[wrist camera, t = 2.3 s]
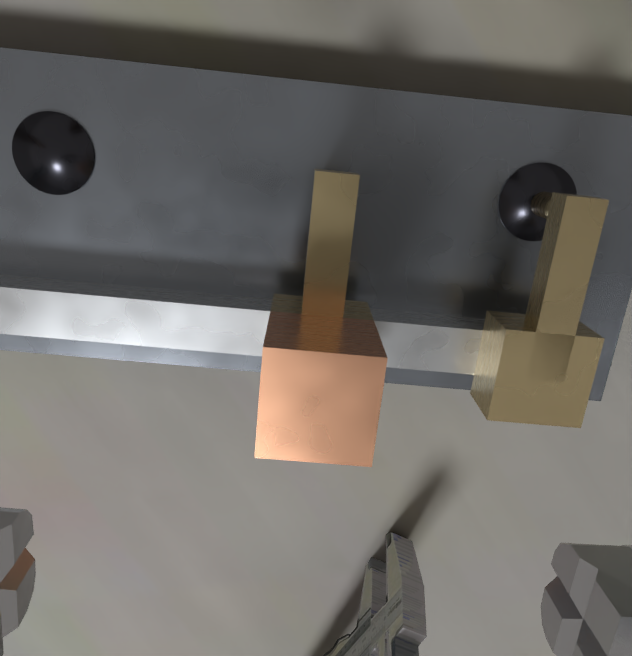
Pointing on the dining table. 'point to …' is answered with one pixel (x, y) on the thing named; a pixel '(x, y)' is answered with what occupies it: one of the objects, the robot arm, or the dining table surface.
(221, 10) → the dining table surface
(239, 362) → the bolt plate
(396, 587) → the caliper
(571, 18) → the dining table surface
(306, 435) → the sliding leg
